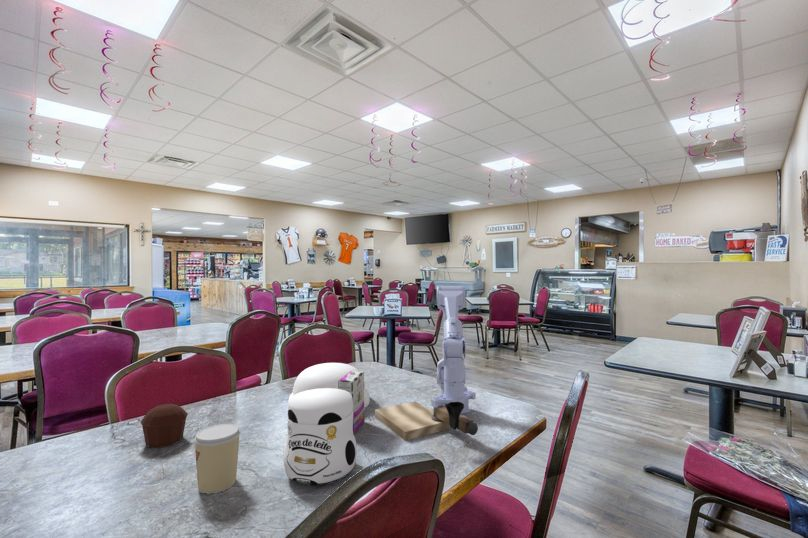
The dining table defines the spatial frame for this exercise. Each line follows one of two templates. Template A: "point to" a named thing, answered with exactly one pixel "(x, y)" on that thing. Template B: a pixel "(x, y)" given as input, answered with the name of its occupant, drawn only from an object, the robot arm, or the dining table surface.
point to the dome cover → (324, 378)
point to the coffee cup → (217, 457)
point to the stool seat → (410, 420)
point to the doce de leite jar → (320, 436)
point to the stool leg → (464, 422)
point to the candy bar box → (355, 395)
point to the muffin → (164, 425)
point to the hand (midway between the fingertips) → (454, 427)
